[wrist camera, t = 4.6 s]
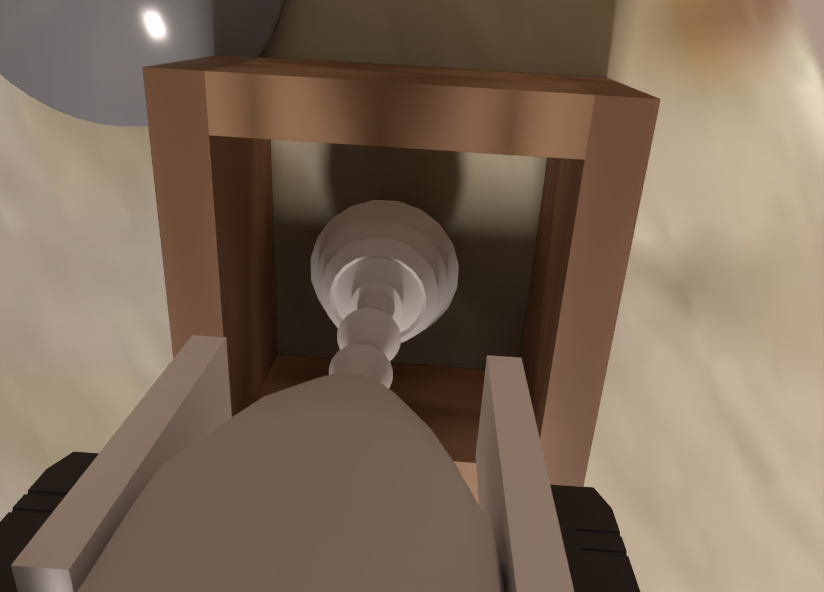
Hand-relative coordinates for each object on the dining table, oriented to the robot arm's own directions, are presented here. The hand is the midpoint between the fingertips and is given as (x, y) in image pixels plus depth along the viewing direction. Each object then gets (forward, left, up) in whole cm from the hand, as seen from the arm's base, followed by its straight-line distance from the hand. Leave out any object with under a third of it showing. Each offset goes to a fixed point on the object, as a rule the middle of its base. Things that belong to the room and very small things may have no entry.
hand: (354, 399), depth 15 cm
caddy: (0, 0, -10) cm, 10 cm away
